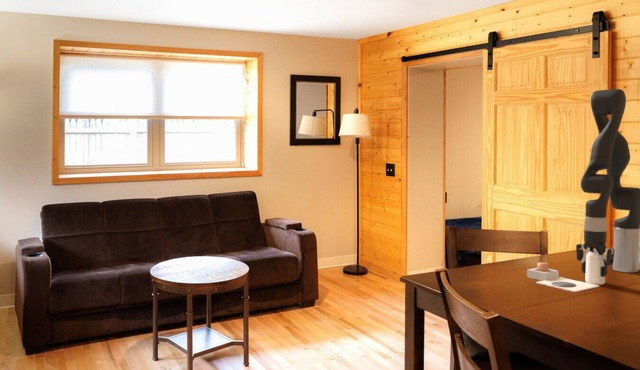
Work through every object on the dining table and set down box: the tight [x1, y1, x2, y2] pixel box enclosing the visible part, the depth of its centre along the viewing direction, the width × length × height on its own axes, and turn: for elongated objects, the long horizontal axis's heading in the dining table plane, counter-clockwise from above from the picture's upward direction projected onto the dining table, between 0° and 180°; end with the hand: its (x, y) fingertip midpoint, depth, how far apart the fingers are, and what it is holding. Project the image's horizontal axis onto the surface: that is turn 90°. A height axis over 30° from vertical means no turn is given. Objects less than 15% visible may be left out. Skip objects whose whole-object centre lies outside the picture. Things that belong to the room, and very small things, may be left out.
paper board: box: [535, 276, 600, 293], centre depth 221 cm, size 14×16×1 cm
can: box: [584, 251, 607, 286], centre depth 223 cm, size 6×6×12 cm
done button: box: [536, 261, 550, 272], centre depth 232 cm, size 4×4×4 cm
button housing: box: [526, 267, 560, 281], centre depth 232 cm, size 8×8×3 cm
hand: (594, 274), depth 223 cm, fingers closed on can, 6 cm apart
